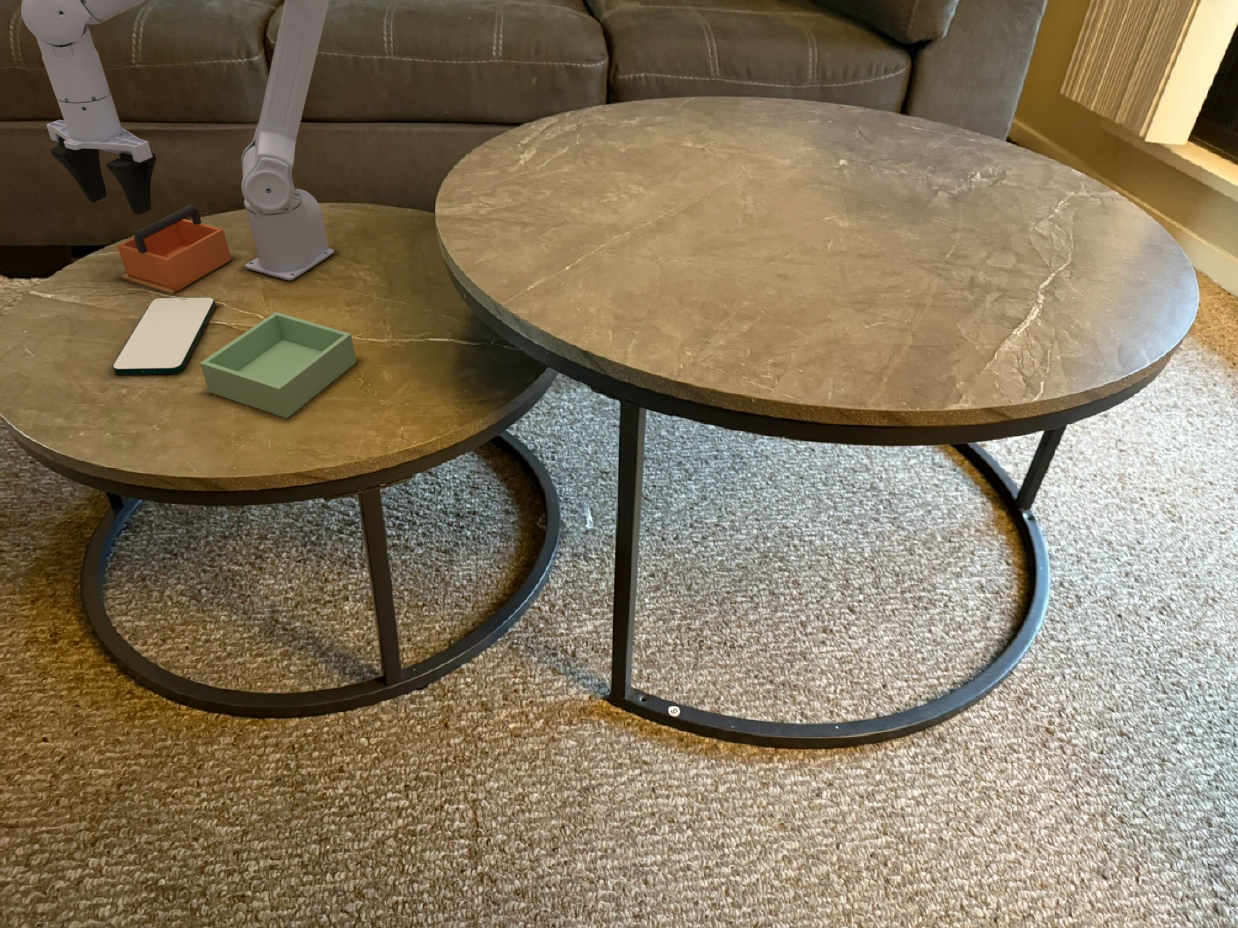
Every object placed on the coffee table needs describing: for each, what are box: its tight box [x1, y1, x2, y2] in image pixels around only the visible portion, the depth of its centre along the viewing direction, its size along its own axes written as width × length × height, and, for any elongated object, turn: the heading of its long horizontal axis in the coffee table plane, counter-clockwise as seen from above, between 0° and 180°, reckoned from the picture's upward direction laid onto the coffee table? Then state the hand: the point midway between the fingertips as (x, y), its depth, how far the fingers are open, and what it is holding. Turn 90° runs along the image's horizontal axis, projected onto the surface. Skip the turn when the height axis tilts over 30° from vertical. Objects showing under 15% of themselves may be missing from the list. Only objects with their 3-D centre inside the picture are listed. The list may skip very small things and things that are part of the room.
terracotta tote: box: [116, 204, 232, 292], centre depth 121 cm, size 10×9×7 cm
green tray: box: [199, 311, 357, 419], centre depth 104 cm, size 12×11×4 cm
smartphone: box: [112, 296, 217, 375], centre depth 111 cm, size 8×1×16 cm
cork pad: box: [120, 256, 233, 295], centre depth 124 cm, size 11×9×1 cm
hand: (120, 205), depth 115 cm, fingers open, 7 cm apart
